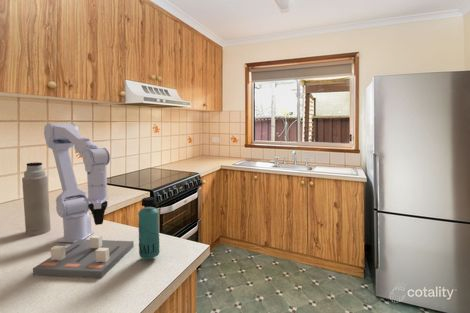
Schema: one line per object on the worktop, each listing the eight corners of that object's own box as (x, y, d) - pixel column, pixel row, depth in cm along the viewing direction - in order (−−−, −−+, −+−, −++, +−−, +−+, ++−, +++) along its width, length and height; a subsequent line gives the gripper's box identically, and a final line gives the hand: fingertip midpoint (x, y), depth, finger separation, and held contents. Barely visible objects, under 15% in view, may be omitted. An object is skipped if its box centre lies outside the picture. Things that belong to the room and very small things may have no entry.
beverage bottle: (154, 252, 89) (152, 194, 87) (164, 259, 84) (163, 198, 82) (135, 258, 84) (133, 197, 82) (144, 266, 80) (143, 201, 78)
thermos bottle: (20, 235, 101) (15, 164, 98) (34, 228, 109) (29, 161, 106) (43, 235, 102) (38, 164, 99) (54, 227, 110) (50, 161, 107)
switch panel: (79, 244, 94) (78, 229, 93) (133, 246, 93) (133, 231, 92) (33, 275, 74) (32, 256, 74) (101, 278, 73) (100, 259, 72)
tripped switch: (93, 245, 88) (93, 235, 88) (102, 245, 88) (101, 235, 88) (90, 247, 86) (89, 237, 86) (98, 248, 86) (98, 238, 86)
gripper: (85, 181, 92) (86, 218, 94) (81, 190, 79) (83, 233, 81) (107, 180, 95) (108, 216, 97) (107, 188, 82) (109, 229, 84)
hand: (99, 224), depth 89 cm, fingers closed
